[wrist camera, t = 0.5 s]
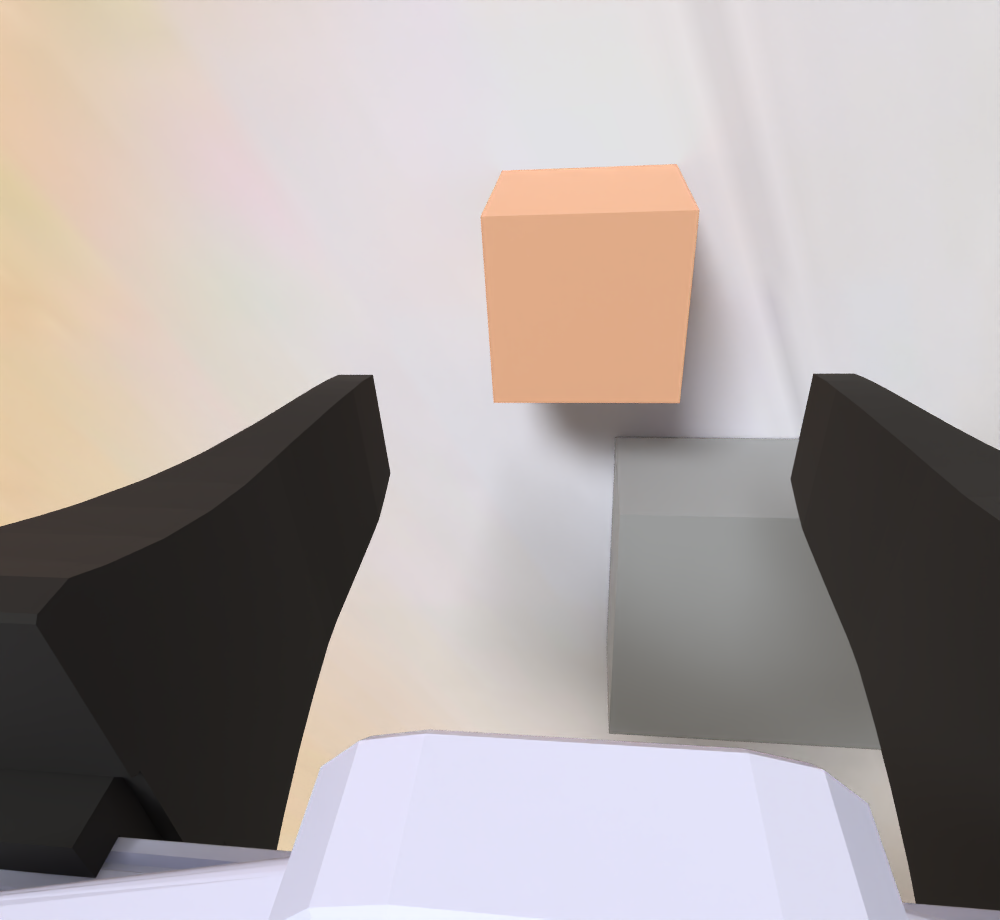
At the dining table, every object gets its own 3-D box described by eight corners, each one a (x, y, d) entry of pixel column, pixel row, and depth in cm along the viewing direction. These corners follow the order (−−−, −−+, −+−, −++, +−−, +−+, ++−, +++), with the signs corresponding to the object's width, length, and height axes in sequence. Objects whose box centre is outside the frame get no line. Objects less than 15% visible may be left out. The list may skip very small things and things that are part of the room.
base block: (945, 440, 21) (1010, 523, 18) (867, 657, 27) (906, 751, 24) (615, 437, 22) (620, 514, 19) (606, 646, 28) (608, 733, 25)
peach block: (676, 163, 18) (699, 209, 14) (663, 327, 20) (679, 402, 17) (502, 170, 18) (480, 216, 15) (510, 328, 21) (493, 402, 17)
